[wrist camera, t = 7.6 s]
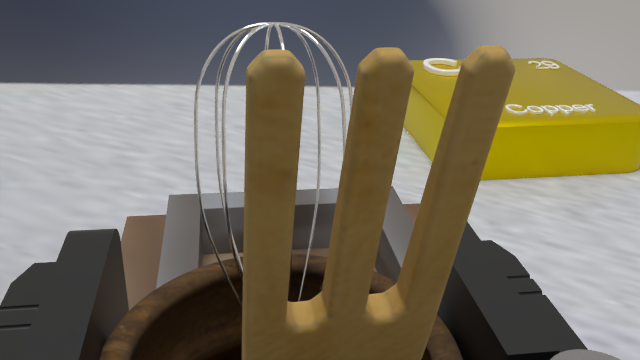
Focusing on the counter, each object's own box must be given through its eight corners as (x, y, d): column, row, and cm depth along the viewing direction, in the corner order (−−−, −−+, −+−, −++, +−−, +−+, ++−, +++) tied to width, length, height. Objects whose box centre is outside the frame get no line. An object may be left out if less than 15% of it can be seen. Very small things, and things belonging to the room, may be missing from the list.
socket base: (63, 510, 18) (44, 428, 17) (129, 232, 32) (122, 173, 31) (555, 454, 21) (578, 378, 19) (418, 218, 35) (424, 163, 33)
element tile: (447, 187, 40) (457, 118, 37) (385, 108, 53) (390, 53, 51) (652, 176, 42) (673, 111, 40) (544, 103, 55) (555, 51, 53)
